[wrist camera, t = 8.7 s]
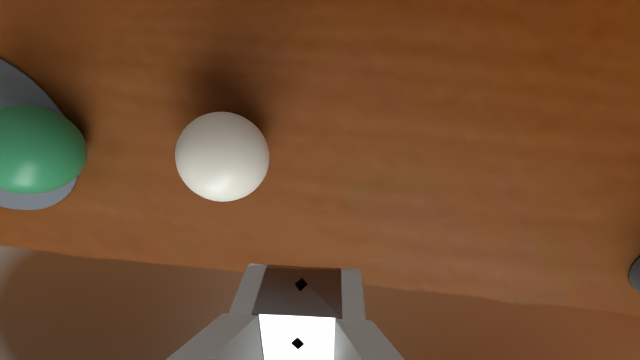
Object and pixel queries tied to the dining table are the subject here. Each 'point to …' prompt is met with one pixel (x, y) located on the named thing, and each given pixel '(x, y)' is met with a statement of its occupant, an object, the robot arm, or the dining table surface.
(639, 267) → the bottle
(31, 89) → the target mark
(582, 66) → the dining table surface
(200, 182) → the cue ball
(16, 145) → the green ball
